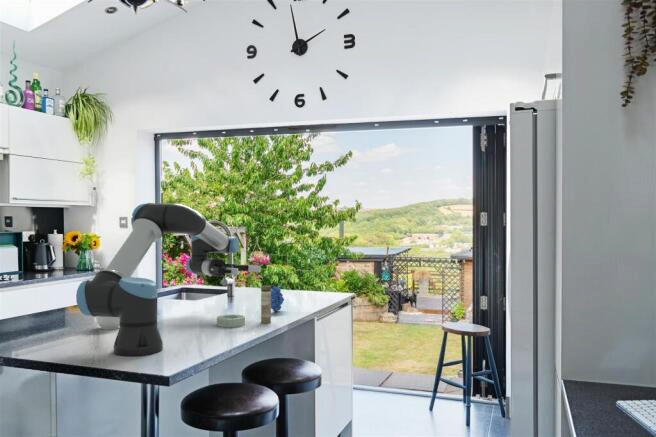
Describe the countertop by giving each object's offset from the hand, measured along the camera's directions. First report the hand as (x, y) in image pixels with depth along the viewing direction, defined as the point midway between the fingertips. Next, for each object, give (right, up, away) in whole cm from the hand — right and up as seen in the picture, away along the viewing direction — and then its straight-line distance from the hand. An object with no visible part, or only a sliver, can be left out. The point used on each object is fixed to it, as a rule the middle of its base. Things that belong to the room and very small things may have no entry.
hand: (249, 270), depth 232 cm
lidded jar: (-52, -21, -18) cm, 59 cm away
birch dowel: (+8, -21, -6) cm, 23 cm away
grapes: (+10, -21, +19) cm, 30 cm away
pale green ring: (-6, -21, -10) cm, 24 cm away
